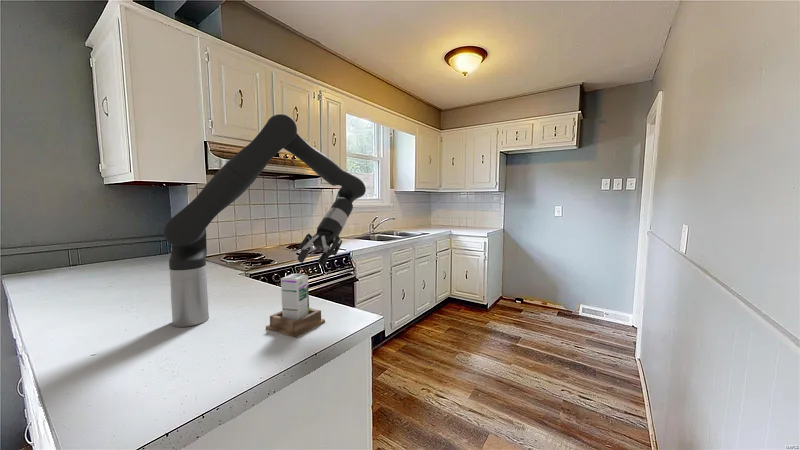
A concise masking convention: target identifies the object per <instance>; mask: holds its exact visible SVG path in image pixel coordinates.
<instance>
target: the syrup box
mask: <svg viewBox="0 0 800 450" xmlns="http://www.w3.org/2000/svg"><path fill="white" fill-rule="evenodd" d="M280 288H281V289H280V291H281V292H280V293H281V311H282V315H283V317H284V318H288V319H292V320H295V321H296V320H298V319H300V318H302V317H304V316H306V315H308V314H309V308H310V297H309V275H308V274H306V273H291V274H288V275H286V276H284V277H281V278H280Z"/></svg>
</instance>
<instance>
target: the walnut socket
mask: <svg viewBox="0 0 800 450" xmlns="http://www.w3.org/2000/svg"><path fill="white" fill-rule="evenodd" d="M324 323H326V319H324V318H322V310H320V309H316V308H312V307H309V314H308V315H306V316H304V317H302V318H300V319H298V320H296V321H295V320H292V319H288V318H284V317H283V315H282V310H280V311H279V312H276V313H274V314H271V315H269V324H268V325H265V330H269V331H272V332H274V333H279V334H281V335H284V336H289V337H292V338H295V339H296V338H298V337H300V336H302V335H304V334H306V333H308V332H309V331H311V330H313V329H315V328H316V327H318V326H320V325H323V324H324Z"/></svg>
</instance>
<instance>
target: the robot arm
mask: <svg viewBox="0 0 800 450" xmlns="http://www.w3.org/2000/svg"><path fill="white" fill-rule="evenodd" d="M282 150H285V151H286V152H288V153H290V154H292V155H293V156H295V158H297V159H298V160H300V161H302V162H303V163H304V164H305V165H306V166H308V167H309V168H310V169H311V170H312V171H313V172H314V173H316V174H317V175H318V176H319V177H320V178H322V179H323V180H324V181H325V182H327V183H328V184H329V185H330V186H334V187H335V186H341V187H340V188H339V190H338V191H337V194H336V197H335V200H334V202H333V203H332V205H331V206H330V208H329V209H328V211H327V212H326V213H325V215H324V216H323V218H322V220H321V221H320V222H319V224H318V226H317V228H316V233H315V234H314V235H311V234H310V233H307V234H306V235H305V236H304V239H303V240H302V241H301V242H300V244H299V246H298V248H299V249H300V250H301V251H300V253H299V255H298V256H297V262H299V263H301V264H303V263H304V262H305V260H306V258H307V256H308V254H309V253H311V252H312V251H316V250H319V249H320V250H323V252H322V253H321V255H320V257H319V258H318V260H317V263H318V265H319V266H322V267H323V266H324V265H325V264H326V262H327V261H328V259H329V257H331V256H336V255H337V254H338V252H339V250H340V248H341V245H342V244H343V240H342V238H341V237H340V234H341V233H342V231H343V229H344V227H345V226H346V223H347V221H348V219H349V217H350V215H351V213H352V211H353V209H354V205H353V202H354V201H356V200H358V199H360V198H361V197H363V196H364V195H365V194H366V189H367V188H366V186H365V184H364V182H363V180H362V179H360V177H357V176H356V175H353V174H351V173H350V172H348V171H346V170H344V169H342V168H341V167H340V166H339V165H338V164H336V163H335V162H334V160H332V159H331V158H330V157H328V156H327V155H325V154H324V153H323V152H320V151H319V150H318V149H316V148H315V147H313V146H311V145H310V144H309V143H308V142H307V141H306V140H304V139H303V138H302V137H301V135H299V133H298V127H297V124H296V121H295V120H294V119H293V118H292V117H291V116H289V115H287V114H283V113H282V114H281V113H280V114H275V115H273V116H271V117H270V118H269V119H268V120H267V121H266V123H265V124H264V126H263V128H262V129H261V130H260V131H259V133H258V134H257V135H256V136H255V137H254V139H252V141H251V142H249V144H247V145H246V146H245V147H244V148H242V149H241V150H240V151H238V152H237V153H236V154H234V155H233V157H231V158H230V159H229V160H228V161H226V163H225V164H224V165H223V166H222V167H221V168H220V169H219V170H218V171H217V172H216V173H215V174H214V175H213V176H212V177H211V179H210V180H209V181H208V182H207V183H206V184H205V186H203V188H202V189H201V191H200V192H199V193H198V194H197V196H195V198H194V199H192V201H191V202H189V203H188V204H187V205H186V206H184V208H183V209H181V210H180V211H179V212H178V213H177V214H175V215H174V216H172V217H170V219H168V221H167V222H166V223H165V225H164V228H163V235H164V239H165V240H166V242H168V243H169V244H170V245H171V246H170V247H171V251H170V253H171V254H170V256H169V257H170V258H169V260H168V266H169V269H168V270H169V282H170V302H171V303H170V304H171V319H172V325H173V326H174V327H177V328H186V327H192V326H193V327H194V326H196V325H200V324H202V323H204V322H206V321H207V320H209V319H210V314H209V312H210V311H209V296H208V279H207V278H208V276H207V251H208V249H207V248H208V247H207V243H208V242H207V228H208V226H209V225H210V223H211V222H212V221H213V220H214V219H215V218H216V217H217V216H218V215H219V214H220V213H221V212H222V211H223V210H225V209H226V208H227V207H229V206H230V205H231V204H232V203H234V202H235V201H236V200H237V199H239V197H240V196H242V195H243V193H245V192H246V191H247V190H248V188H250V186H251V185H252V184H253V183H254V182H255V181H256V180H257V178H258V177H259V176H260V174H261V173H262V172H263V171H264V169H265V168H266V167H267V166H268V164H269V162H270V161H271V160H272V159H273V158H274V157H275V156H276V155H277V154H279V152H280V151H282Z"/></svg>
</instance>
